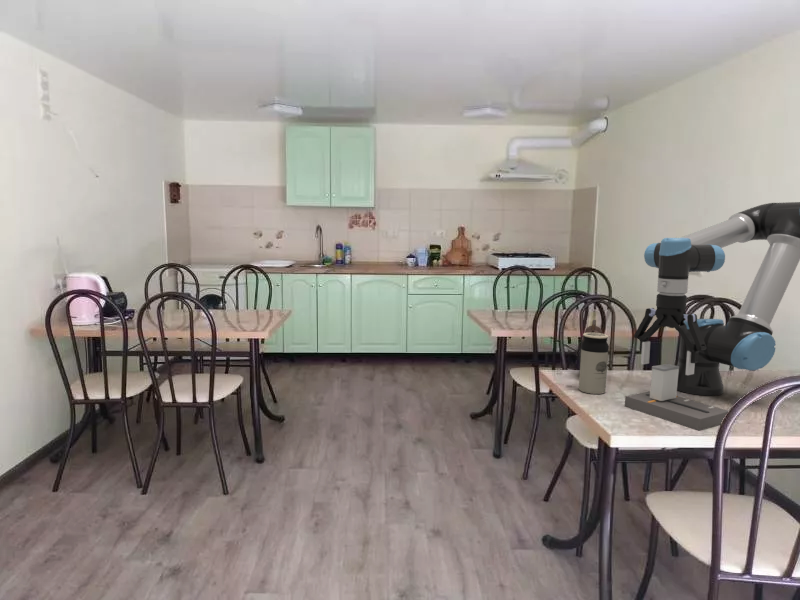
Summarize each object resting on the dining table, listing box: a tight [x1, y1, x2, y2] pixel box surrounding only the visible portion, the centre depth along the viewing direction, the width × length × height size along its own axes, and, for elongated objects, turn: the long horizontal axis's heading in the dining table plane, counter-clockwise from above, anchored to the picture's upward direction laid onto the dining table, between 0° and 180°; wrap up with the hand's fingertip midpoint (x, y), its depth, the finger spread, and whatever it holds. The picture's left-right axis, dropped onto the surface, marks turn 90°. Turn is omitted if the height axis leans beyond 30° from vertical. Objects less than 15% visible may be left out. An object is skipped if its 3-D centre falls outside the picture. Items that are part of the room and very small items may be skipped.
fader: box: [649, 363, 679, 401], centre depth 155 cm, size 4×7×9 cm, turn 121°
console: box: [624, 390, 729, 431], centre depth 153 cm, size 22×14×3 cm, turn 31°
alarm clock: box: [579, 319, 603, 362], centre depth 189 cm, size 15×7×20 cm, turn 159°
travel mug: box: [578, 332, 610, 395], centre depth 173 cm, size 8×8×18 cm
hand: (666, 368), depth 155 cm, fingers open, 13 cm apart
